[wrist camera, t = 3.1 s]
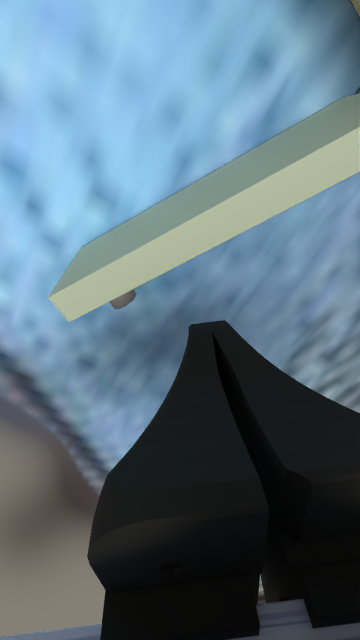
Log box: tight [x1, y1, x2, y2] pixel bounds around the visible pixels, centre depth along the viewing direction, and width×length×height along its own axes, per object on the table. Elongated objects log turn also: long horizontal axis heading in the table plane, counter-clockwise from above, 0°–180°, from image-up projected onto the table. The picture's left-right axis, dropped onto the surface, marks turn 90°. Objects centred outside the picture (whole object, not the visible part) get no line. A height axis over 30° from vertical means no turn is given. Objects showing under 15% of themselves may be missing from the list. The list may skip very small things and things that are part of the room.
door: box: [48, 89, 360, 322], centre depth 10 cm, size 13×2×5 cm, turn 118°
